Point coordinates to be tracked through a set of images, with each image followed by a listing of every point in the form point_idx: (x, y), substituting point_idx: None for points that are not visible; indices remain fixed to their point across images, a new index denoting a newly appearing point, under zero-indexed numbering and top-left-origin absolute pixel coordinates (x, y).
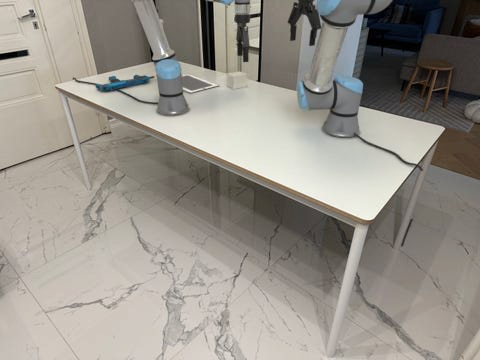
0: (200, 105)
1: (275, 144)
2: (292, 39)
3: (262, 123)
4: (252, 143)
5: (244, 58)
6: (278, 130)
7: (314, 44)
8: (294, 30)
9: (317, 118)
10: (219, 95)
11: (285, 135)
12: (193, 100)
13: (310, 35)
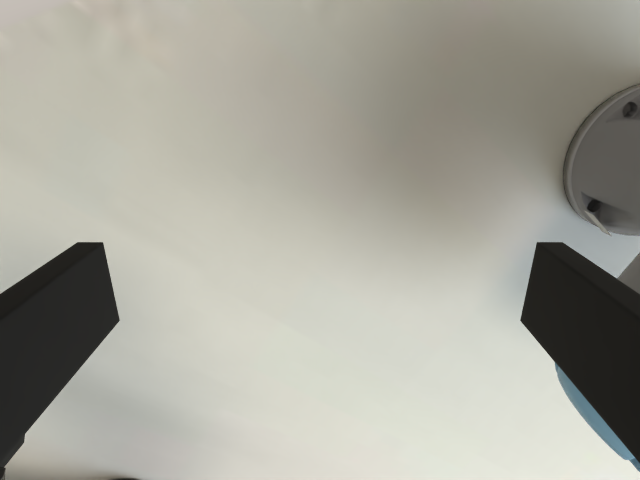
0: (122, 441)
1: (534, 403)
2: (107, 307)
3: (385, 356)
4: (482, 445)
5: (6, 458)
6: (466, 345)
7: (569, 254)
8: (2, 371)
9: (487, 152)
10: None
11: (511, 348)
12: (59, 441)
13: (623, 430)
